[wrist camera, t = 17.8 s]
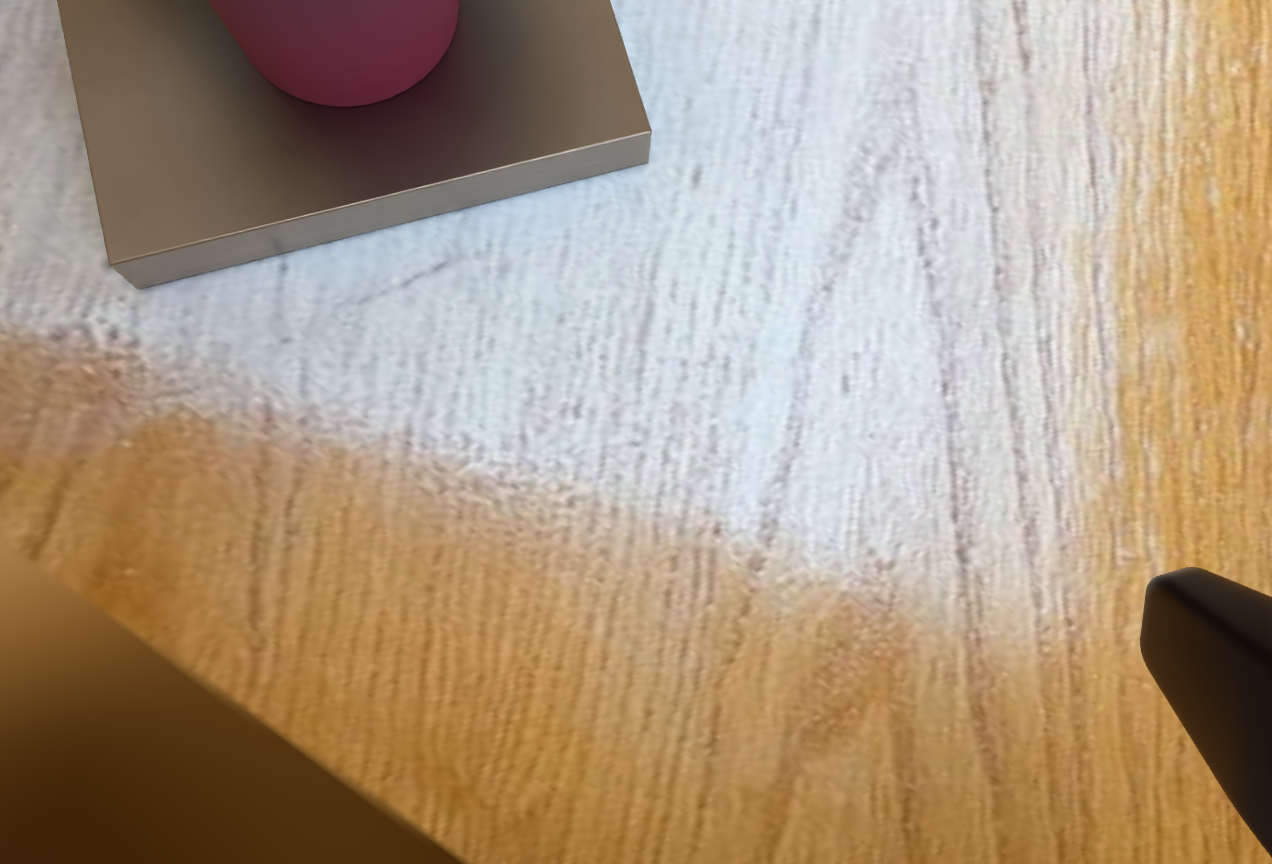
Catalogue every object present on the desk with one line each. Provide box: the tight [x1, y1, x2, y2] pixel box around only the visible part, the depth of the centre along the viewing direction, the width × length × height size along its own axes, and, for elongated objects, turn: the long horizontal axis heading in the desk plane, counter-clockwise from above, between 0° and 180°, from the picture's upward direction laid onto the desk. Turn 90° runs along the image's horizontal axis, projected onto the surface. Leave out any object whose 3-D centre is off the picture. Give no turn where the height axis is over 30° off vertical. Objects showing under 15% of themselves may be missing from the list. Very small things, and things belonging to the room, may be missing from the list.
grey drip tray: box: [57, 0, 652, 289], centre depth 25 cm, size 10×12×2 cm
